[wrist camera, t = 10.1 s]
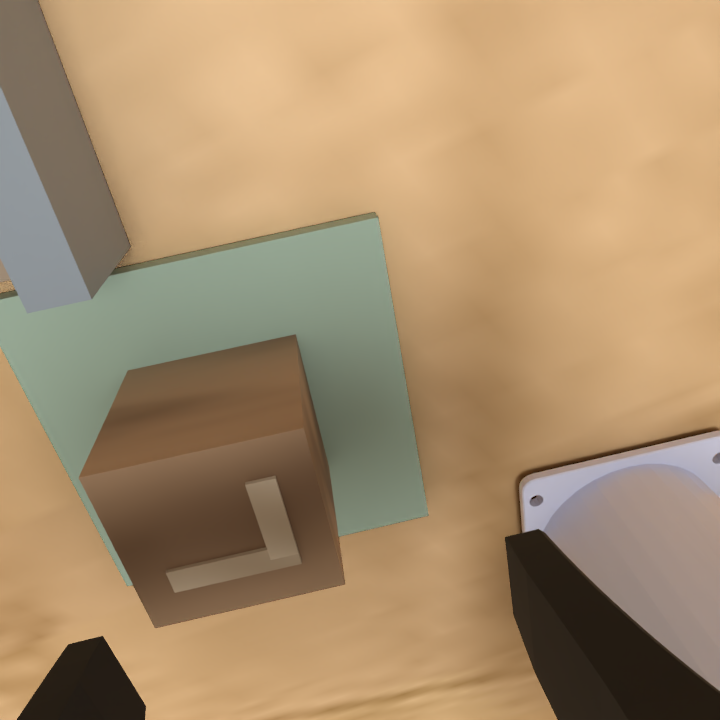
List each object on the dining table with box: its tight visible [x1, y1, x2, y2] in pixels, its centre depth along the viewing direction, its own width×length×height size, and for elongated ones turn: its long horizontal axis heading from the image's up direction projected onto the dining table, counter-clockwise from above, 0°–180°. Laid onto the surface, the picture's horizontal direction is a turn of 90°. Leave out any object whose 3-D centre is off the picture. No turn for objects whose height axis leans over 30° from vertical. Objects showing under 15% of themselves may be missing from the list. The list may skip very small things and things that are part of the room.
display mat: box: [0, 212, 429, 586], centre depth 19 cm, size 11×11×1 cm
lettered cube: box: [79, 334, 345, 628], centre depth 16 cm, size 5×5×5 cm
